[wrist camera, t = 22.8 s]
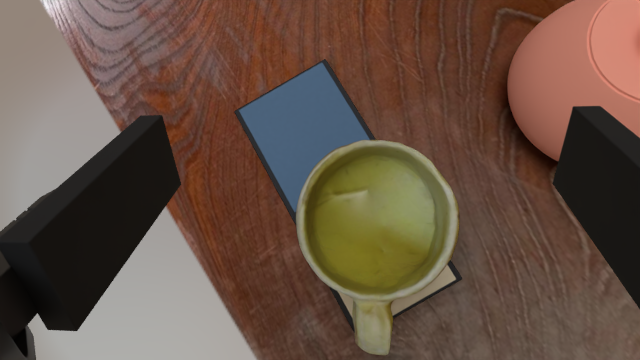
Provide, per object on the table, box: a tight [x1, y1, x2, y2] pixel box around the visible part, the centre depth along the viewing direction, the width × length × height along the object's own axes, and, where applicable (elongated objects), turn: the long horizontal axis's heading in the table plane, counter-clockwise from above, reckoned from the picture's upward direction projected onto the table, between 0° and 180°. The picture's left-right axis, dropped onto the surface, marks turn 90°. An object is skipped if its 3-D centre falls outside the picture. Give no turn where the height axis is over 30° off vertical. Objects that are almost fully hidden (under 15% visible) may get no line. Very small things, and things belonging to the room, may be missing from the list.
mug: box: [296, 140, 459, 355], centre depth 27 cm, size 12×10×10 cm
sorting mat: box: [234, 59, 462, 333], centre depth 32 cm, size 20×9×1 cm, turn 29°
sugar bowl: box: [507, 0, 640, 161], centre depth 27 cm, size 12×14×10 cm
